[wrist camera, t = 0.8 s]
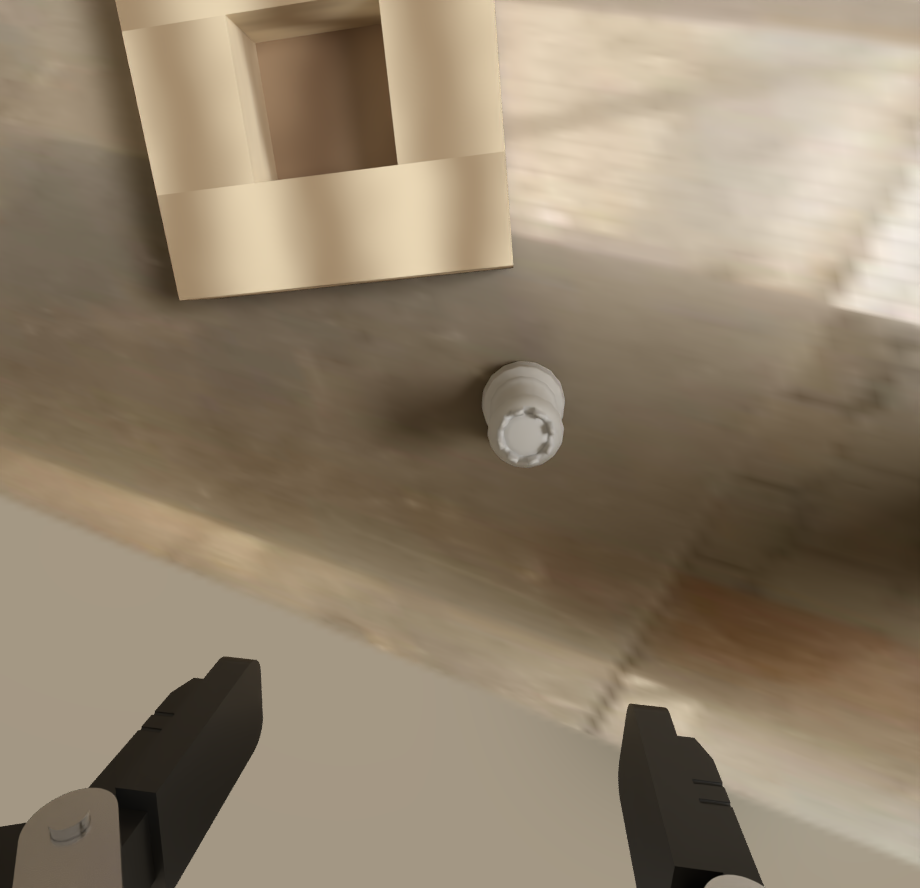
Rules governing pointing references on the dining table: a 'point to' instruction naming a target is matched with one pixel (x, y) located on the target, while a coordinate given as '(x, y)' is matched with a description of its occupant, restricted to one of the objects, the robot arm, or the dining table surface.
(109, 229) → the dining table surface
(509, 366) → the rook chess piece
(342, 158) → the socket block
